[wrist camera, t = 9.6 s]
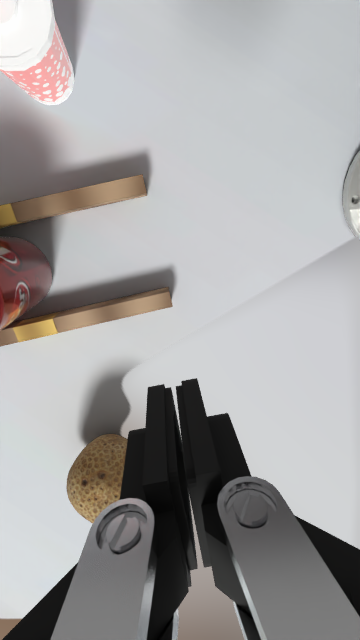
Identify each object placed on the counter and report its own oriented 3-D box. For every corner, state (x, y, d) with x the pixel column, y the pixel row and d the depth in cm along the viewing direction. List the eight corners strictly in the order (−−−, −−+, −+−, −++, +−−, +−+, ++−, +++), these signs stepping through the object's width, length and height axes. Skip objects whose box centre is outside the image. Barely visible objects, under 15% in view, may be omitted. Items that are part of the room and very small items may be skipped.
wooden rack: (143, 178, 29) (141, 169, 25) (171, 300, 33) (174, 313, 29) (-62, 223, 29) (-103, 223, 24) (-8, 342, 33) (-35, 362, 28)
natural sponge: (165, 438, 39) (169, 507, 29) (123, 483, 40) (114, 562, 31) (106, 401, 36) (90, 464, 27) (64, 451, 38) (35, 526, 29)
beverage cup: (8, 22, 25) (-153, -206, 12) (85, 39, 26) (15, -157, 12) (10, 108, 27) (-128, -5, 13) (82, 121, 27) (18, 26, 14)
